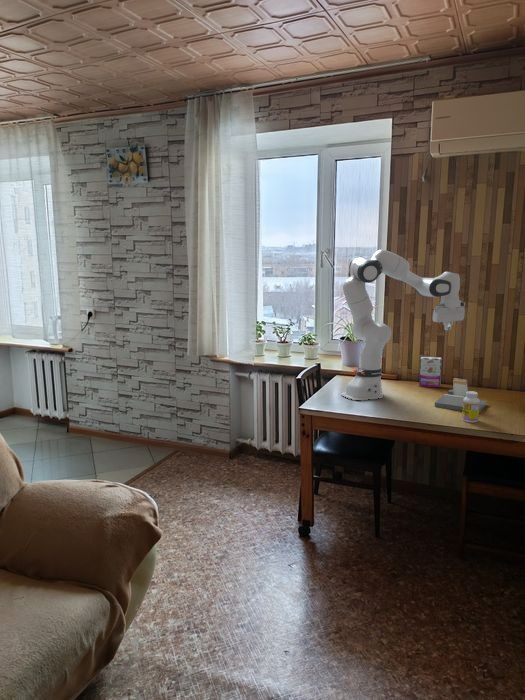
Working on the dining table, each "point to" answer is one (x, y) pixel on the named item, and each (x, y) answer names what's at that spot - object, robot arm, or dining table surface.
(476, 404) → the supplement bottle
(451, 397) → the breaker housing
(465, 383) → the breaker lever
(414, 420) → the dining table surface
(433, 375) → the candy bar box
